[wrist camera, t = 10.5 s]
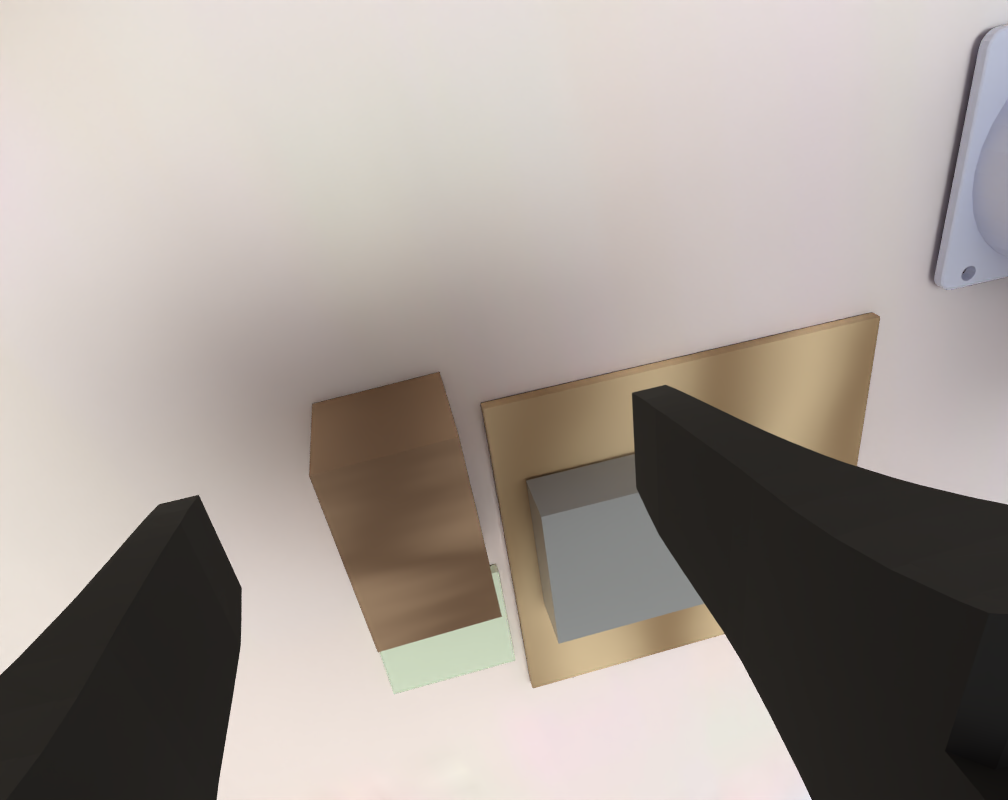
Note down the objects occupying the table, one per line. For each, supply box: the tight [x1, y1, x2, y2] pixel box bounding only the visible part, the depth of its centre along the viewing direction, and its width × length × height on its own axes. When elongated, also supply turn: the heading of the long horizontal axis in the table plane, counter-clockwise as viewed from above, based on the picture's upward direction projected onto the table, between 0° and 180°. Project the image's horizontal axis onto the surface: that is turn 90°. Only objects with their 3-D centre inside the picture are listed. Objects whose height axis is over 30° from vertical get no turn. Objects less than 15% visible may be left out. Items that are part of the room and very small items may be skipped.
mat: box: [481, 313, 880, 688], centre depth 27 cm, size 14×14×1 cm
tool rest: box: [380, 565, 515, 694], centre depth 27 cm, size 5×5×1 cm
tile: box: [526, 454, 704, 644], centre depth 25 cm, size 8×2×6 cm
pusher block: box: [309, 372, 502, 652], centre depth 22 cm, size 4×4×7 cm
